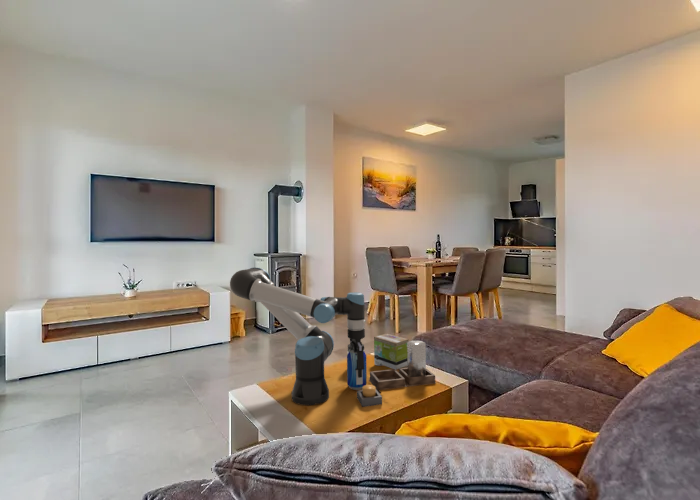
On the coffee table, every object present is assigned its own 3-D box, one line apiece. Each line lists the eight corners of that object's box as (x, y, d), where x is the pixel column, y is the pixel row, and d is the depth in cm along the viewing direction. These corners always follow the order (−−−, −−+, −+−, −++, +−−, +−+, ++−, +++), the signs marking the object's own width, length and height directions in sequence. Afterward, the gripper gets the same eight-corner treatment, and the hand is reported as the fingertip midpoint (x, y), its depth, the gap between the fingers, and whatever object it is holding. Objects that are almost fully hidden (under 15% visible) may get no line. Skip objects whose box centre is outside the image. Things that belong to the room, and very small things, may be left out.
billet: (412, 383, 155) (411, 346, 155) (404, 376, 163) (404, 341, 163) (428, 381, 157) (428, 344, 157) (421, 374, 165) (420, 339, 165)
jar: (366, 371, 173) (366, 347, 173) (350, 373, 172) (349, 348, 171) (362, 365, 182) (361, 342, 182) (346, 367, 180) (345, 343, 180)
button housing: (362, 407, 137) (362, 399, 137) (356, 398, 145) (356, 390, 145) (382, 404, 139) (382, 396, 139) (375, 395, 147) (375, 388, 147)
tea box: (373, 365, 182) (373, 336, 182) (386, 360, 189) (386, 332, 189) (396, 373, 171) (395, 342, 171) (409, 367, 178) (409, 338, 177)
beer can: (365, 391, 151) (364, 353, 150) (345, 390, 153) (345, 352, 152) (368, 383, 159) (367, 347, 159) (349, 382, 161) (349, 346, 160)
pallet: (379, 393, 149) (379, 382, 148) (369, 380, 162) (369, 371, 162) (436, 386, 155) (436, 376, 155) (422, 374, 168) (422, 365, 168)
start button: (364, 398, 139) (364, 390, 139) (361, 393, 144) (360, 385, 144) (377, 397, 140) (377, 389, 140) (373, 391, 145) (373, 384, 145)
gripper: (371, 333, 146) (372, 388, 147) (358, 322, 166) (358, 371, 167) (353, 335, 145) (354, 391, 145) (342, 323, 165) (343, 372, 165)
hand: (356, 380), depth 156 cm, fingers closed on beer can, 8 cm apart
